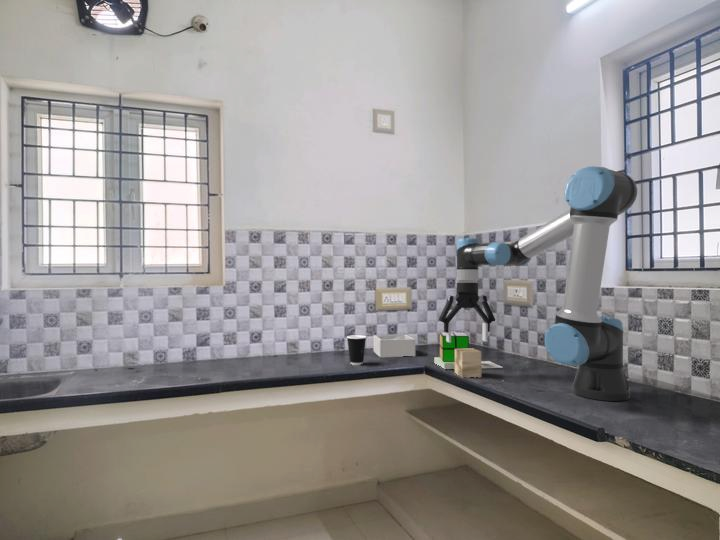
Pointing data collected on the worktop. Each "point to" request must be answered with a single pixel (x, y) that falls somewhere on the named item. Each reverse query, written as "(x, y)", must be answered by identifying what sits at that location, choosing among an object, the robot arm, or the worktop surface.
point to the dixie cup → (356, 349)
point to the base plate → (444, 363)
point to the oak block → (468, 362)
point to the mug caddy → (394, 346)
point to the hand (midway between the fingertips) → (466, 341)
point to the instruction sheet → (489, 365)
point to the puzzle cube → (452, 345)
